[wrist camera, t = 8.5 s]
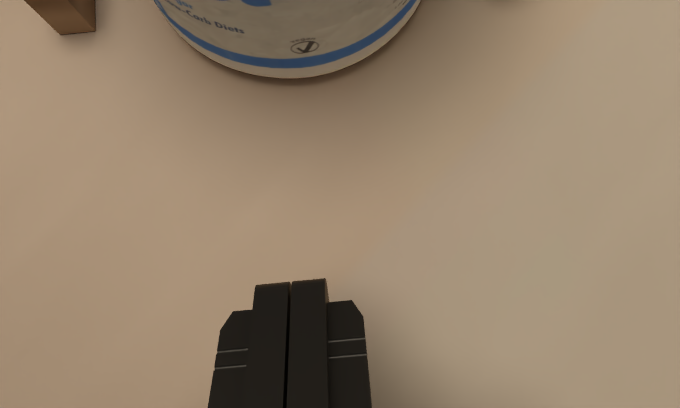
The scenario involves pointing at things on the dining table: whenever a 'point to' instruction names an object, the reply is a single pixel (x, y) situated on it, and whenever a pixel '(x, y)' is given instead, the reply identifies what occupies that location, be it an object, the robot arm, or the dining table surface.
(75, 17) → the walnut dock
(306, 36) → the supplement tub
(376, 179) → the dining table surface
